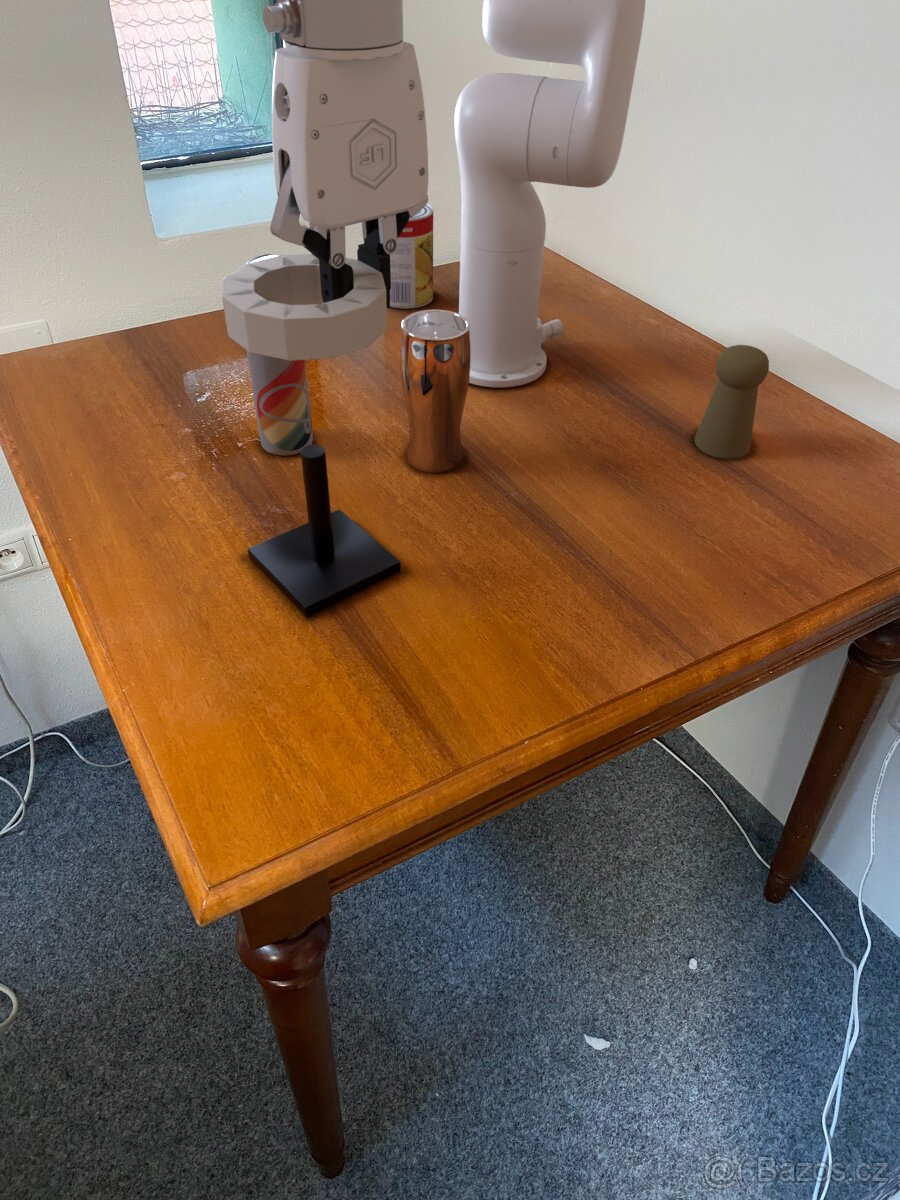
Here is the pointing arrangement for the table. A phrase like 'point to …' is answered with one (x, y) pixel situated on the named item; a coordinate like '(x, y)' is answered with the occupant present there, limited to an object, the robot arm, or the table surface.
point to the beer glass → (435, 386)
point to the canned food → (413, 263)
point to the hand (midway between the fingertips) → (357, 306)
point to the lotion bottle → (280, 400)
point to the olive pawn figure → (733, 403)
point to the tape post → (322, 549)
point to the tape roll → (302, 309)
